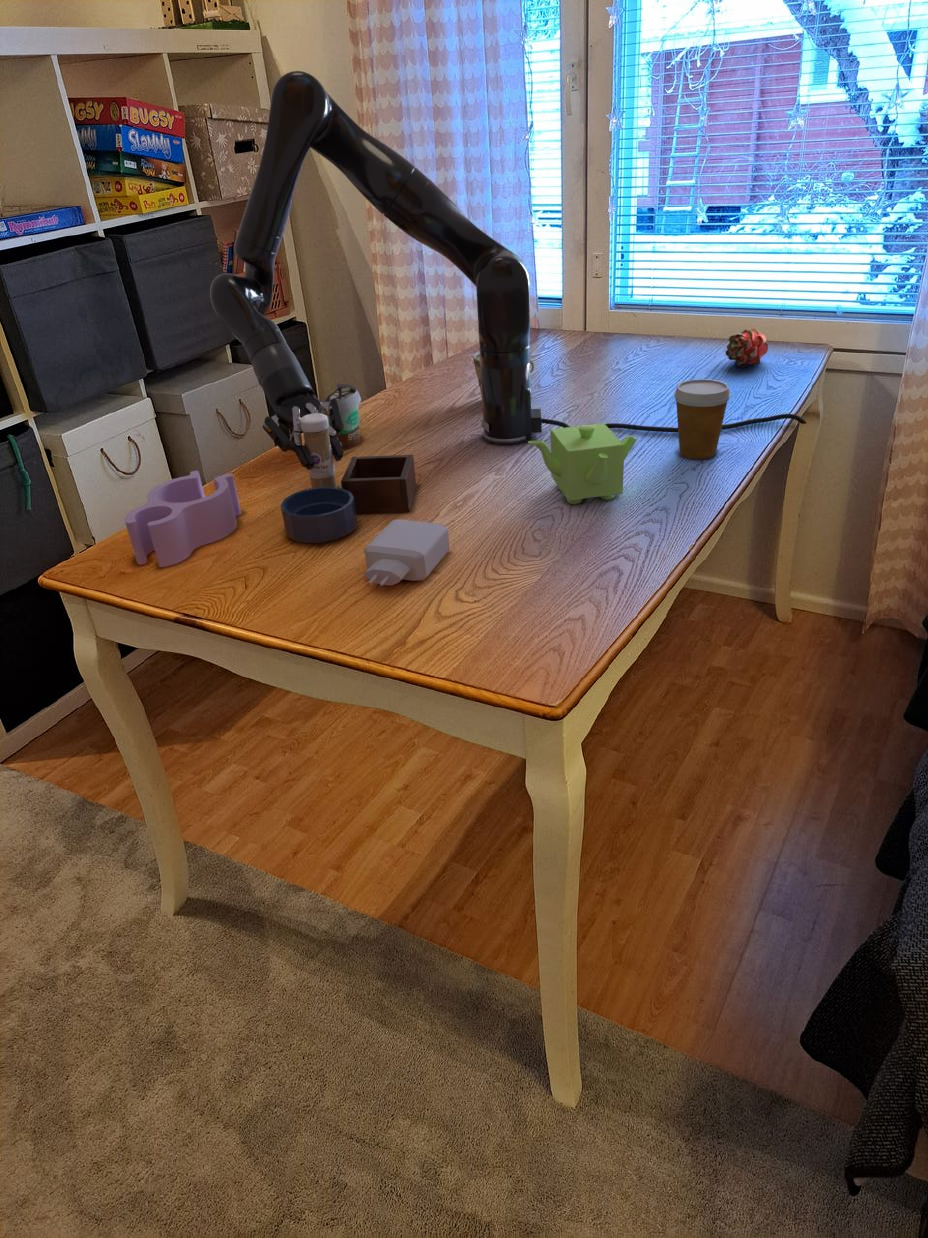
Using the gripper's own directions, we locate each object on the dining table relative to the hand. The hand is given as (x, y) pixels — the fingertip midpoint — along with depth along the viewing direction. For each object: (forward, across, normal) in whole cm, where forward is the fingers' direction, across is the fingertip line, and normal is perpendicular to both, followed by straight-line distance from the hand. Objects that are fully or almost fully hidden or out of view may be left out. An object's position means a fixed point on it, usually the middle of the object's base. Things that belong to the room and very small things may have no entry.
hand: (325, 462), depth 148 cm
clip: (+3, -25, +6) cm, 26 cm away
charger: (+27, -6, -18) cm, 33 cm away
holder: (+10, +6, -1) cm, 11 cm away
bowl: (+12, -8, -4) cm, 15 cm away
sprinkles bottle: (+3, 0, +6) cm, 6 cm away
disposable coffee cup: (+26, +58, -17) cm, 65 cm away
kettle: (+25, +31, -16) cm, 43 cm away
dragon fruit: (+6, +106, +3) cm, 106 cm away
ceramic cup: (-8, +52, +16) cm, 55 cm away
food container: (-10, +15, +19) cm, 26 cm away
